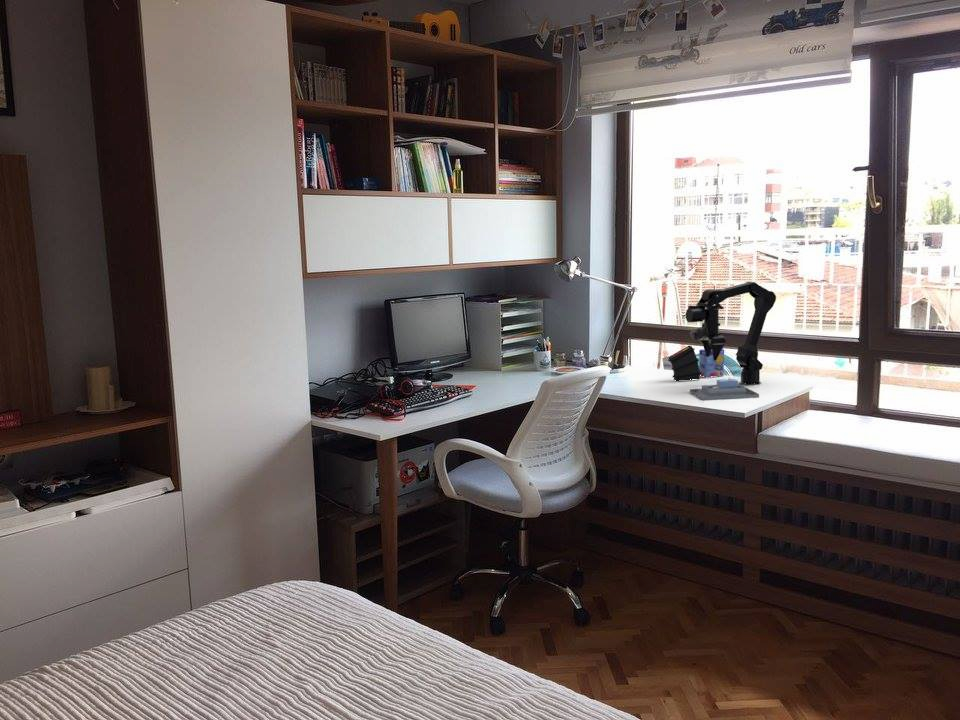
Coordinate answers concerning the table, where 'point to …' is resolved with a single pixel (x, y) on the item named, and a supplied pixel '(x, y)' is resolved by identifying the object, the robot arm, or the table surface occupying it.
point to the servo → (727, 383)
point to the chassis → (723, 392)
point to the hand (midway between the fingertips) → (711, 358)
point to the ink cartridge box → (711, 364)
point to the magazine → (685, 364)
